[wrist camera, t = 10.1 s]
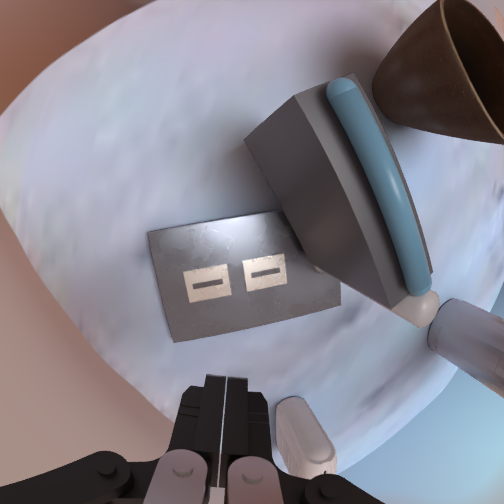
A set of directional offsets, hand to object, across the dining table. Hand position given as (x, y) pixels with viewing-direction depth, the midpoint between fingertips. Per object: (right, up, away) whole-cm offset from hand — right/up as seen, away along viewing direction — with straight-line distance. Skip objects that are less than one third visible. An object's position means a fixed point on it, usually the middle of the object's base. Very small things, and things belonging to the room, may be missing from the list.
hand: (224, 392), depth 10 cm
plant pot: (+18, +24, +18) cm, 36 cm away
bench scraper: (+5, +10, +16) cm, 20 cm away
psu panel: (+1, +3, +18) cm, 19 cm away
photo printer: (+6, -18, +24) cm, 31 cm away
